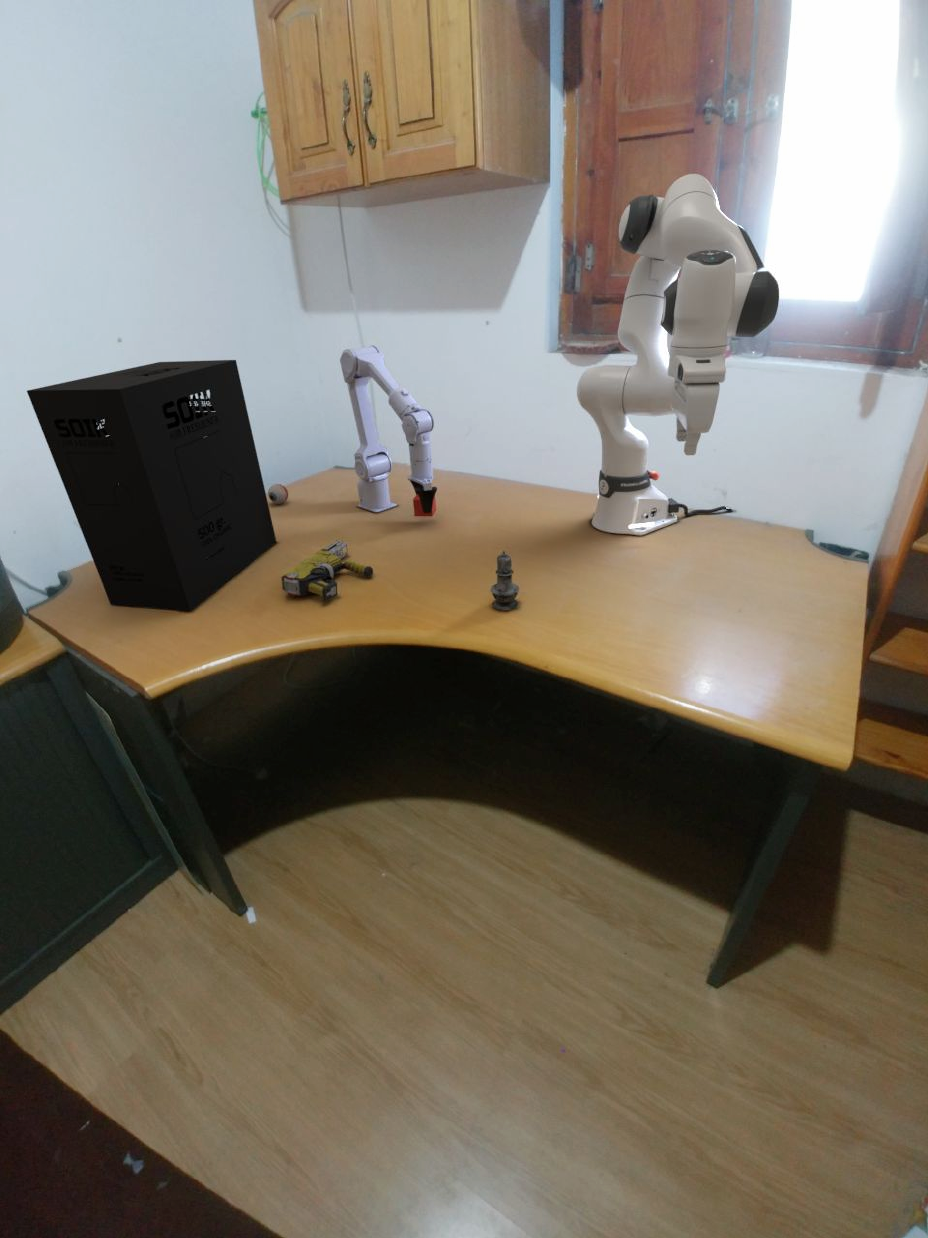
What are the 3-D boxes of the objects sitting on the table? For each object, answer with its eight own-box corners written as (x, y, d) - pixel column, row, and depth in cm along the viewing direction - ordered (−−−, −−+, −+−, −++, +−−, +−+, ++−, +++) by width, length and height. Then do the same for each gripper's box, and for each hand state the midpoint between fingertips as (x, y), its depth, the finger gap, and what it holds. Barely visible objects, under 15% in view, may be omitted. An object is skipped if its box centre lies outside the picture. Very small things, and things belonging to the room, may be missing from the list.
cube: (418, 510, 168) (417, 493, 166) (436, 510, 167) (435, 493, 165) (414, 516, 164) (412, 499, 162) (432, 516, 163) (431, 499, 161)
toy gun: (389, 548, 145) (334, 537, 149) (339, 588, 125) (277, 575, 129) (389, 566, 147) (335, 555, 151) (340, 608, 127) (279, 595, 131)
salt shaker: (517, 611, 121) (517, 557, 115) (488, 610, 122) (486, 556, 116) (521, 598, 126) (520, 545, 120) (493, 596, 127) (491, 544, 121)
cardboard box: (190, 611, 129) (119, 389, 106) (110, 604, 133) (26, 390, 111) (276, 542, 160) (235, 359, 138) (209, 539, 165) (159, 361, 142)
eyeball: (265, 505, 187) (261, 487, 184) (278, 499, 192) (274, 480, 189) (281, 507, 185) (277, 488, 182) (293, 500, 190) (290, 482, 187)
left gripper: (401, 453, 164) (406, 501, 170) (410, 467, 151) (415, 519, 158) (426, 450, 165) (430, 498, 172) (437, 464, 153) (441, 515, 159)
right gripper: (668, 356, 110) (659, 433, 117) (685, 373, 93) (674, 463, 100) (704, 355, 109) (693, 433, 116) (729, 372, 92) (714, 462, 99)
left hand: (425, 508), depth 165 cm, fingers closed on cube, 6 cm apart
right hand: (685, 447), depth 108 cm, fingers open, 8 cm apart
